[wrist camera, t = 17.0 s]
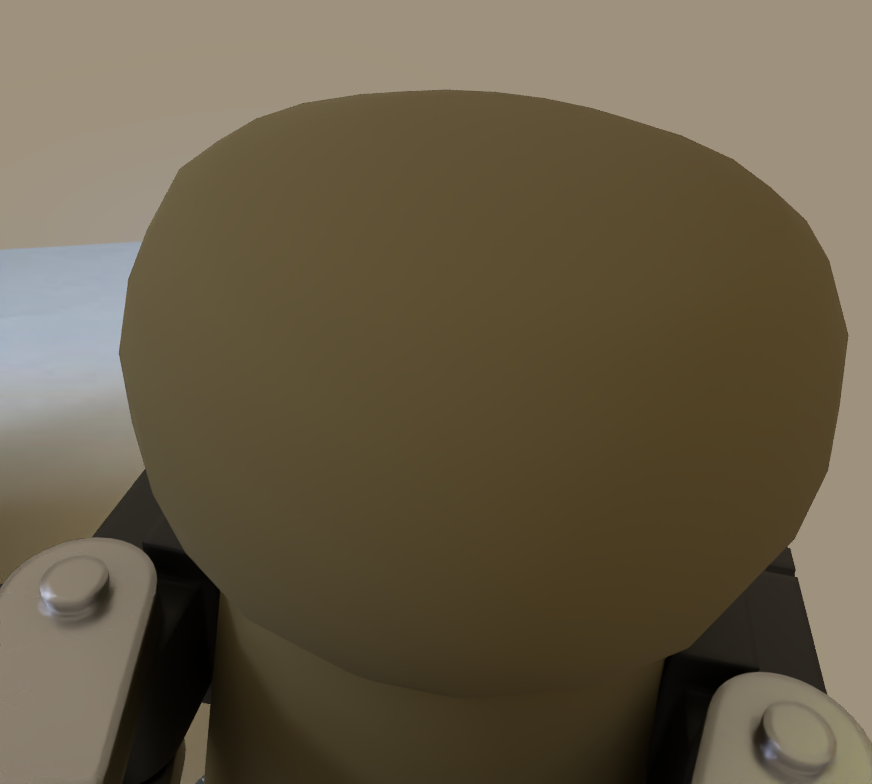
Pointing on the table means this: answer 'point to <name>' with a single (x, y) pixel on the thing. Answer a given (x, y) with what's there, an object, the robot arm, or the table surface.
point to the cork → (471, 426)
